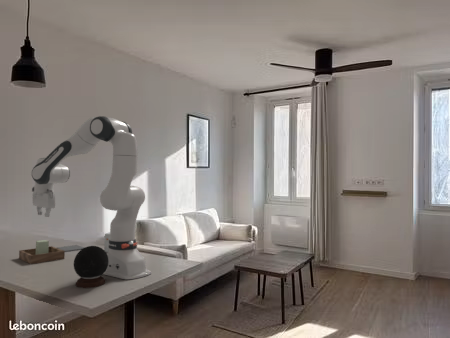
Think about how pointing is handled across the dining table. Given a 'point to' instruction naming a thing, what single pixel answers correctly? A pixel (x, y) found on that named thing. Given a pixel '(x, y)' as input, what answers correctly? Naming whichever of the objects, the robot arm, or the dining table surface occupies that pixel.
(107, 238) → the small box
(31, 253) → the walnut crate
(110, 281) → the dining table surface
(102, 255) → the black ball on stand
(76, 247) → the rubber mat
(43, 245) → the green block
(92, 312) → the dining table surface
